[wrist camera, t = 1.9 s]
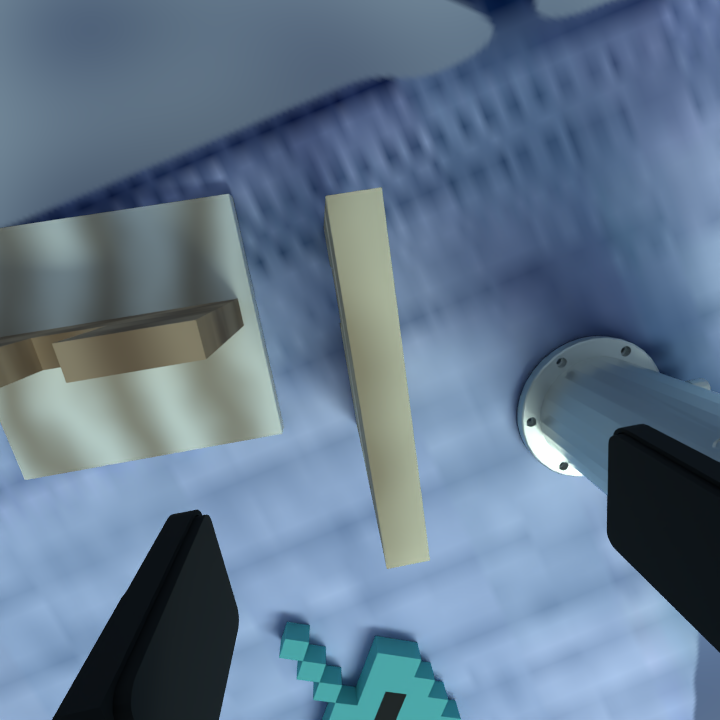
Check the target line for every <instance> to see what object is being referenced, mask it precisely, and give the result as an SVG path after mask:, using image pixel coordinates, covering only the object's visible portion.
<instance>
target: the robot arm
mask: <svg viewBox="0 0 720 720" xmlns="http://www.w3.org/2000/svg"><path fill="white" fill-rule="evenodd" d="M557 360H558V361H557ZM518 427H519V432H520V436H521V438H522V440H523V442H524V445H525V446H526V448H527V449H528V450H529V452H530V453H531V454H532V455H533V456H534V457H535V458H536V459H537V460H538V461H539V462H540V463H541V464H543V465H544V466H546V467H547V468H549V469H550V470H552V471H555V472H557V473H560V474H564V475H569V476H585V477H586V478H587V479H588V480H589V481H591V482H592V483H593V484H594V485H595V486H596V487H598V488H599V489H600V490H601V491H602V492H604V493H605V494H606V495H607V535H608V538H609V540H610V543H611V544H612V546H613V547H614V548H615V549H616V550H617V551H618V552H619V553H620V554H621V555H622V556H623V557H624V558H625V559H626V560H627V561H628V562H629V563H630V564H631V565H632V566H633V567H634V568H635V569H636V570H637V571H638V572H639V573H640V574H641V575H642V576H643V577H644V578H645V579H646V580H647V581H648V582H649V583H650V584H651V585H652V586H653V587H654V588H655V589H656V590H657V591H658V592H659V593H660V594H661V595H662V596H663V597H664V598H665V599H666V600H667V601H668V602H669V603H670V604H671V605H672V606H673V607H674V608H675V609H676V610H677V611H678V612H679V613H680V614H681V615H682V616H683V617H684V618H685V619H686V620H687V621H688V622H689V623H690V624H691V625H692V626H693V627H694V628H695V629H696V630H697V631H698V632H699V633H700V634H701V635H702V636H703V637H705V639H706V640H707V641H708V642H709V643H710V644H712V645H713V646H714V647H715V648H716V649H717V650H718V651H719V652H720V394H719V393H716V392H713V391H711V390H710V385H709V383H708V382H707V381H706V380H704V379H694V380H689V381H682V380H679V379H676V378H673V377H670V376H667V375H664V374H661V373H659V370H658V368H657V367H656V365H655V363H654V362H653V360H652V358H651V357H650V356H649V355H648V354H647V353H646V352H645V351H644V350H642V349H641V348H639V347H638V346H636V345H635V344H633V343H630V342H627V341H624V340H622V339H618V338H613V337H609V336H590V337H584V338H579V339H577V340H574V341H571V342H568V343H566V344H564V345H563V346H561V347H559V348H557V349H556V350H554V351H553V352H551V353H550V354H549V355H548V356H547V357H545V358H544V359H543V360H542V361H541V362H540V363H539V365H538V366H537V367H536V368H535V369H534V370H533V372H532V373H531V375H530V376H529V378H528V380H527V381H526V383H525V385H524V388H523V390H522V393H521V396H520V400H519V405H518ZM238 626H239V615H238V609H237V605H236V602H235V598H234V595H233V592H232V588H231V585H230V581H229V578H228V575H227V571H226V568H225V565H224V561H223V558H222V554H221V551H220V548H219V544H218V541H217V538H216V534H215V531H214V528H213V524H212V521H211V518H210V516H209V515H203V516H202V513H201V512H200V511H199V510H193V511H188V512H183V513H177V514H173V515H170V516H169V518H168V519H167V521H166V523H165V524H164V526H163V528H162V530H161V531H160V533H159V535H158V537H157V538H156V540H155V542H154V544H153V545H152V547H151V549H150V551H149V553H148V554H147V556H146V558H145V560H144V561H143V563H142V565H141V567H140V568H139V570H138V572H137V574H136V576H135V577H134V579H133V581H132V583H131V584H130V586H129V588H128V590H127V591H126V593H125V594H124V595H123V597H122V598H121V600H120V601H119V603H118V605H117V607H116V609H115V610H114V612H113V614H112V616H111V617H110V619H109V621H108V623H107V624H106V626H105V628H104V630H103V631H102V633H101V635H100V637H99V638H98V640H97V642H96V644H95V645H94V647H93V649H92V651H91V652H90V654H89V656H88V658H87V659H86V661H85V663H84V665H83V666H82V668H81V670H80V672H79V673H78V675H77V677H76V679H75V680H74V682H73V684H72V686H71V687H70V689H69V691H68V693H67V694H66V696H65V698H64V700H63V701H62V703H61V705H60V707H59V708H58V710H57V712H56V714H55V715H54V717H53V719H52V720H219V717H220V712H221V707H222V702H223V698H224V693H225V688H226V684H227V679H228V674H229V669H230V665H231V660H232V655H233V651H234V646H235V641H236V636H237V632H238Z"/></svg>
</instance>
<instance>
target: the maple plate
mask: <svg viewBox="0 0 720 720" xmlns="http://www.w3.org/2000/svg"><path fill="white" fill-rule="evenodd" d="M324 232H325V238H326V244H327V250H328V256H329V262H330V266H331V268H332V272H333V278H334V284H335V290H336V296H337V302H338V308H339V314H340V320H341V323H340V327H341V333H342V339H343V345H344V351H345V357H346V363H347V369H348V375H349V380H350V386H351V392H352V398H353V404H354V410H355V416H356V422H357V427H358V432H359V437H360V442H361V447H362V451H363V456H364V461H365V466H366V471H367V475H368V480H369V485H370V490H371V495H372V500H373V504H374V509H375V514H376V519H377V524H378V528H379V533H380V538H381V543H382V548H383V552H384V557H385V562H386V567H387V569H389V568H394V567H399V566H404V565H409V564H414V563H419V562H424V561H429V560H430V558H429V550H428V542H427V535H426V527H425V519H424V511H423V504H422V496H421V488H420V480H419V473H418V465H417V457H416V449H415V442H414V434H413V426H412V418H411V411H410V403H409V395H408V387H407V380H406V372H405V364H404V356H403V349H402V341H401V333H400V325H399V318H398V310H397V302H396V294H395V287H394V279H393V271H392V263H391V256H390V248H389V240H388V232H387V225H386V217H385V209H384V201H383V194H382V187H381V188H374V189H368V190H361V191H355V192H348V193H341V194H335V195H328V196H326V197H325V213H324Z"/></svg>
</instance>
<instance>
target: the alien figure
mask: <svg viewBox="0 0 720 720" xmlns="http://www.w3.org/2000/svg"><path fill="white" fill-rule="evenodd" d="M309 629H310V625H305V624H299V623H292V622H287V623H286V626H285V629H284V632H283V636H282V639H281V646H280V655H279V658H284V659H291V660H298V665H297V679H298V680H305V681H313V682H314V689H313V700H317V701H325V702H328V704H327V707H326V710H325V713H324V715H323V718H322V720H461V718H460V715H459V711H458V708H457V705H456V701H455V700H448V697H447V694H446V690H445V687H444V683H443V682H440V681H435V678H434V674H433V670H432V667H431V663H430V662H423V661H421V656H420V652H419V648H418V644H417V642H411V641H405V640H399V639H393V638H386V637H380V636H375V638H374V641H373V643H372V646H371V648H370V651H369V654H368V656H367V659H366V662H365V664H364V667H363V669H362V672H361V675H360V677H359V680H358V683H357V685H356V687H353V686H346V685H342V676H341V667H336V666H329V665H326V647H325V646H318V645H311V644H309Z"/></svg>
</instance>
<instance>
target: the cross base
mask: <svg viewBox="0 0 720 720" xmlns="http://www.w3.org/2000/svg"><path fill="white" fill-rule="evenodd" d="M0 422H1V424H2V427H3V429H4V432H5V434H6V436H7V439H8V441H9V443H10V446H11V448H12V450H13V453H14V455H15V457H16V460H17V462H18V464H19V467H20V469H21V472H22V474H23V476H24V479H25V480H28V479H34V478H39V477H45V476H50V475H56V474H61V473H67V472H72V471H78V470H83V469H89V468H95V467H100V466H106V465H111V464H117V463H122V462H128V461H133V460H139V459H144V458H150V457H155V456H161V455H167V454H172V453H178V452H183V451H189V450H194V449H200V448H205V447H211V446H216V445H222V444H227V443H233V442H239V441H244V440H250V439H255V438H261V437H266V436H272V435H277V434H282V433H283V428H284V426H283V422H282V417H281V413H280V408H279V404H278V399H277V395H276V390H275V386H274V381H273V377H272V372H271V368H270V363H269V359H268V354H267V350H266V345H265V341H264V336H263V332H262V327H261V323H260V318H259V314H258V309H257V305H256V300H255V296H254V291H253V287H252V282H251V278H250V273H249V269H248V264H247V260H246V255H245V251H244V246H243V242H242V237H241V233H240V228H239V224H238V219H237V215H236V210H235V206H234V201H233V197H232V196H231V195H230V194H224V195H217V196H211V197H204V198H197V199H191V200H184V201H177V202H171V203H164V204H157V205H151V206H144V207H137V208H131V209H124V210H117V211H111V212H104V213H97V214H91V215H84V216H77V217H71V218H64V219H57V220H51V221H44V222H37V223H31V224H24V225H17V226H10V227H4V228H0Z"/></svg>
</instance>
